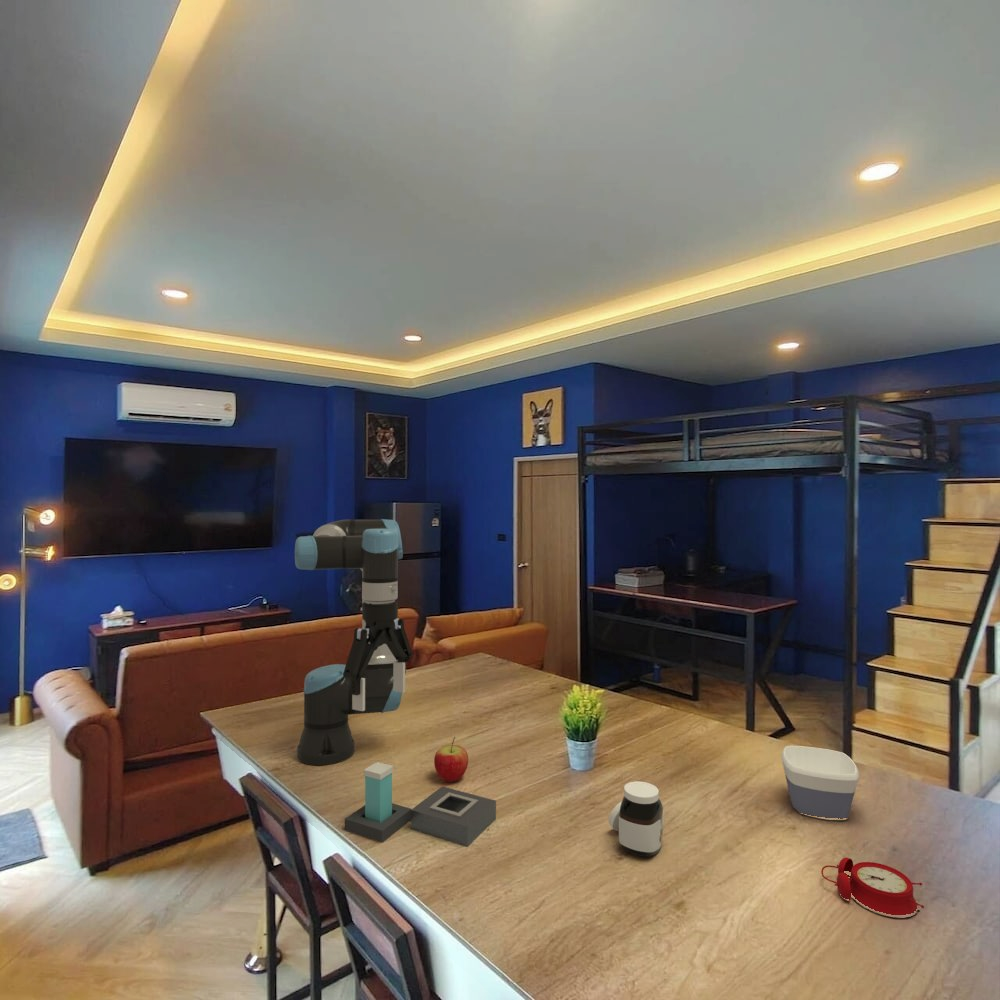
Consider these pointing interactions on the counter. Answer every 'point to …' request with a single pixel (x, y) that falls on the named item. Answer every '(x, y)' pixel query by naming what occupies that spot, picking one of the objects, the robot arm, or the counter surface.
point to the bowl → (820, 781)
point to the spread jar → (639, 819)
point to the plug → (378, 792)
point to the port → (453, 815)
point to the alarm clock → (876, 886)
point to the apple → (451, 762)
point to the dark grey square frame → (375, 829)
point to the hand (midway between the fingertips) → (379, 700)
